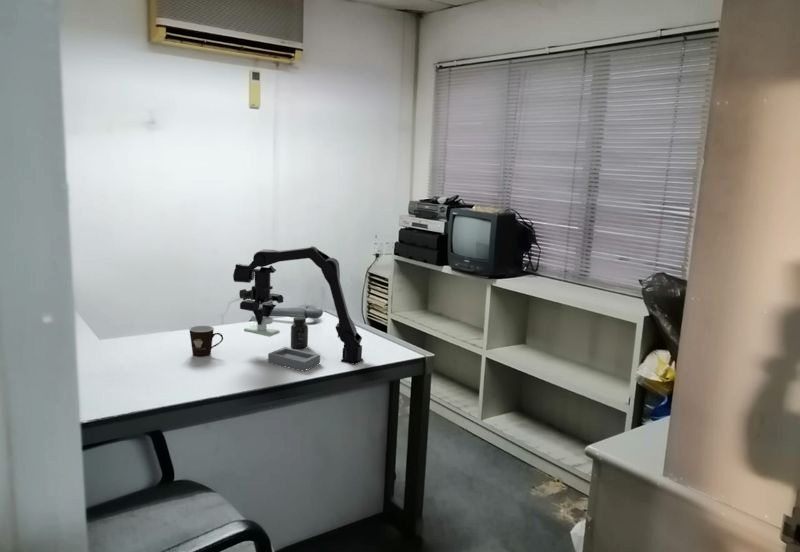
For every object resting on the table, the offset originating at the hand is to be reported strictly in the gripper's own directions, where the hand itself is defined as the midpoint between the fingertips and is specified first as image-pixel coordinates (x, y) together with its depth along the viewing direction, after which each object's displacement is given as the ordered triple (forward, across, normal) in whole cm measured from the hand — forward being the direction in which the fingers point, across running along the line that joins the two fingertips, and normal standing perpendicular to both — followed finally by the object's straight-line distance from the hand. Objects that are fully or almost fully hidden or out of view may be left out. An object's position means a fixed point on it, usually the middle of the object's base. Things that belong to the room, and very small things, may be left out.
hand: (261, 324), depth 228 cm
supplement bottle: (+12, -16, +6) cm, 21 cm away
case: (+12, +1, +16) cm, 20 cm away
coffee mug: (+12, +13, -16) cm, 24 cm away
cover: (+3, 0, 0) cm, 3 cm away
